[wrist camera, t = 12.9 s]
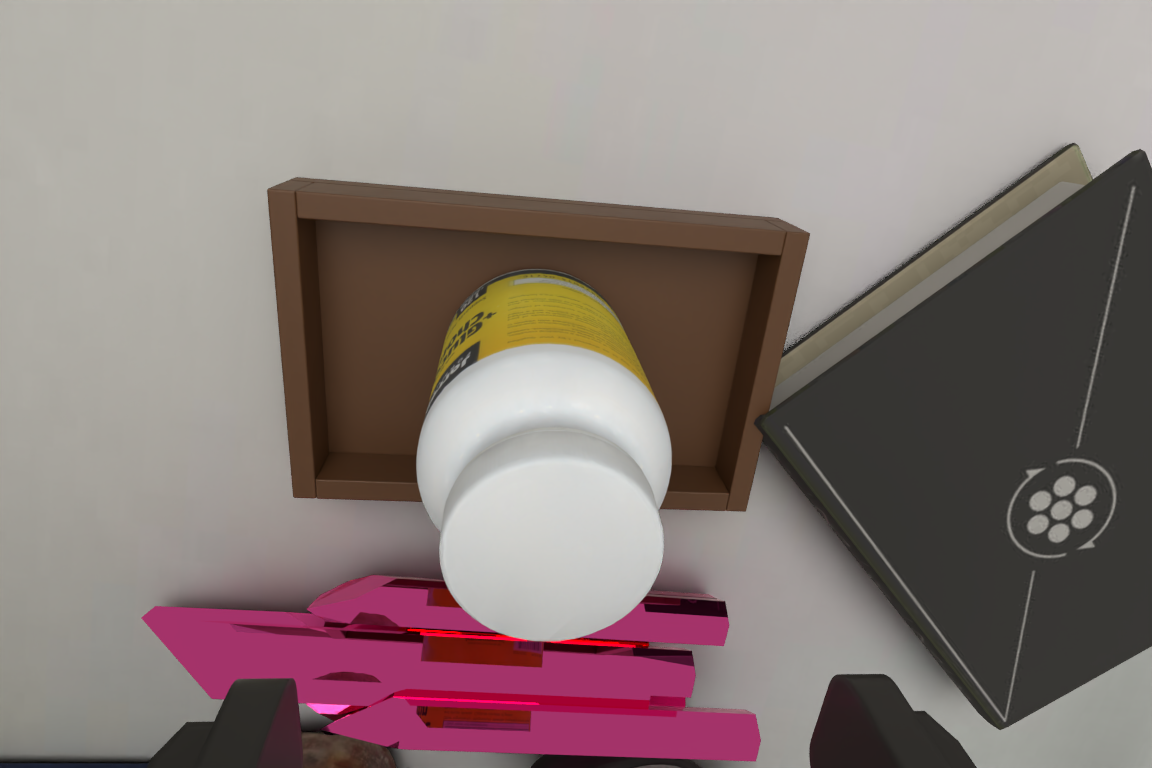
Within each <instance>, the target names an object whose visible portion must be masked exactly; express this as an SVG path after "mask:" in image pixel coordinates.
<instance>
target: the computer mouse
mask: <svg viewBox="0 0 1152 768" xmlns="http://www.w3.org/2000/svg"><path fill="white" fill-rule="evenodd" d="M531 768H702V767H700V766H699V765H697V764H695V763H694V762H692V761H691V760H689V759H672V758H642V757H613V756H584V755H554V754H545V755H543V756H542V757H541V758H539V759H538V760H537V761H536V762H535V763H534V764H533V765H532V766H531Z"/></svg>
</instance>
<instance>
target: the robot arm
mask: <svg viewBox="0 0 1152 768" xmlns="http://www.w3.org/2000/svg"><path fill="white" fill-rule="evenodd" d="M809 754H810V766H811V768H977V767H976V766H975V765H974V763H973V762H972V760H971V759H970V757H969V756H968V754H967V753H966V752H965V750H964V749H963V747H962V746H961V744H960V743H959V741H958V740H956V739H955V738H954V737H953V736H952V735H951V734H950V733H949V732H947V731H946V730H945V729H944V728H943V727H942V726H941V725H940V724H939V723H937V722H936V721H935V720H934V719H933V718H932V717H931V716H930V715H928V714H927V713H926V712H925V711H913V709H912V708H911V706H910V705H909V703H908V702H907V700H906V699H905V697H904V696H903V694H902V693H901V691H900V690H899V688H898V687H897V685H896V684H895V682H894V681H893V680H892V679H891V678H890V677H888V676H886V675H884V674H845V675H835V676H834V677H833V678H832V680H831V681H830V684H829V687H828V690H827V693H826V696H825V699H824V702H823V705H822V708H821V711H820V714H819V717H818V720H817V723H816V726H815V729H814V732H813V735H812V739H811V742H810V753H809ZM302 766H303V746H302V736H301V726H300V716H299V706H298V696H297V687H296V682H295V680H294V679H293V678H264V679H237V680H235V681H234V683H233V684H232V685H231V687H230V689H229V691H228V693H227V695H226V697H225V699H224V701H223V704H222V706H221V708H220V710H219V712H218V715H217V717H216V719H215V721H214V722H187V723H186V724H185V725H184V726H183V727H182V728H181V729H180V730H179V731H178V732H177V733H176V734H175V735H174V736H173V737H172V738H171V739H170V740H169V741H168V742H167V743H166V744H165V745H164V746H163V747H162V748H161V749H160V750H159V751H158V752H157V753H156V754H155V755H154V756H153V757H152V758H151V760H150V762H149V764H148V766H147V768H302Z"/></svg>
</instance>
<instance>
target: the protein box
mask: <svg viewBox="0 0 1152 768" xmlns="http://www.w3.org/2000/svg"><path fill="white" fill-rule="evenodd" d="M148 764H149V763H144V764H128V763H0V768H147V766H148Z"/></svg>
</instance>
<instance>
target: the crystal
mask: <svg viewBox="0 0 1152 768" xmlns="http://www.w3.org/2000/svg"><path fill="white" fill-rule="evenodd" d="M307 610H308V611H310V612H312V613H313V614H309V613H293V612H274V611H252V610H229V609H207V608H185V607H162V606H155V607H154V608H153V609H151V610H150V611H149V612H148V613H147V614H145V615H144V616H143V617H142V619H143V620H144V622H145V623H146V624H147V625H148V626H149V627H150V628H151V630H152V631H153V632H154V633H155V634H156V635H157V636H158V638H159V639H160V640H161V641H162V642H163V643H164V644H165V646H166V647H167V648H168V649H169V650H170V651H171V653H172V654H173V655H174V656H175V657H176V658H177V659H178V661H179V662H180V663H181V664H182V665H183V666H184V667H185V669H186V670H187V671H188V672H189V673H190V674H191V676H192V677H193V678H194V679H195V680H196V681H197V682H198V684H199V685H200V686H201V687H202V688H203V689H204V690H205V692H206V693H207V694H208V695H209V696H210V697H211V698H212V699H225V697H226V695H227V693H228V691H229V689H230V687H231V685H232V684H233V683H234V681H235V680H237V679H264V678H293V679H294V680H295V682H296V687H297V696H298V703H305V704H307V705H308V706H309V707H311V708H312V709H313V710H315V711H316V712H317V713H319V714H321V715H323V716H325V717H327V718H329V719H331V720H333V721H335V722H332V723H331V724H329V725H327V726H325V727H324V728H322V729H320V730H324V731H328V732H332V733H336V734H339V735H343V736H347V737H351V738H355V739H359V740H363V741H367V742H371V743H375V744H378V745H382V746H386V747H392V748H397V749H408V750H437V751H466V752H496V753H525V754H554V755H584V756H613V757H642V758H672V759H701V760H730V761H756V758H757V754H758V750H759V746H760V742H761V739H760V734H759V729H758V724H757V719H756V715H755V714H754V713H751V712H749V711H747V710H741V709H720V708H698V707H685V697H689V698H691V695H692V690H693V686H694V681H695V676H696V675H695V668H694V662H693V655H692V651H691V650H688V649H685V648H673V647H656V646H649V642H664V643H680V644H697V645H714V646H724V643H725V640H726V636H727V632H728V628H729V621H728V615H727V609H726V604H725V601H722V600H719V599H717V598H715V597H713V596H711V595H709V594H696V593H682V592H668V591H654V590H650V591H649V592H648V593H647V594H646V596H645V597H644V598H643V599H642V601H641V602H640V603H639V604H638V605H637V606H636V607H635V608H634V609H633V610H632V611H631V612H629V613H628V614H627V615H626V616H624V617H623V618H622V619H620V620H618V621H617V622H615V623H614V624H612V625H610V626H608V627H606V628H604V629H602V630H599V631H597V632H594V633H592V634H589V635H586V636H583V637H579V638H576V639H570V640H563V641H530V640H524V639H519V638H514V637H510V636H507V635H504V634H501V633H498V632H496V631H494V630H492V629H490V628H488V627H486V626H484V625H483V624H481V623H479V622H478V621H477V620H475V619H474V618H472V617H471V616H470V615H469V614H468V613H467V612H466V611H464V610H463V608H462V607H461V606H460V605H459V604H458V603H457V602H456V600H455V599H454V597H453V596H452V595H451V593H450V591H449V589H448V587H447V585H446V583H445V580H443V579H428V578H414V577H400V576H386V575H371V576H367V577H363V578H359V579H355V580H351V581H347V582H345V583H343V584H341V585H339V586H337V587H335V588H333V589H331V590H329V591H327V592H325V593H323V594H321V595H320V596H319V597H318V598H317V599H316V600H315V601H314V602H313V603H312V604H311V605H310V606H309V607H308V608H307Z"/></svg>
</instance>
